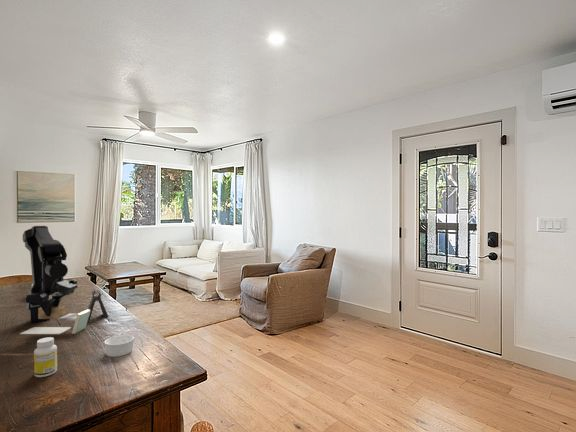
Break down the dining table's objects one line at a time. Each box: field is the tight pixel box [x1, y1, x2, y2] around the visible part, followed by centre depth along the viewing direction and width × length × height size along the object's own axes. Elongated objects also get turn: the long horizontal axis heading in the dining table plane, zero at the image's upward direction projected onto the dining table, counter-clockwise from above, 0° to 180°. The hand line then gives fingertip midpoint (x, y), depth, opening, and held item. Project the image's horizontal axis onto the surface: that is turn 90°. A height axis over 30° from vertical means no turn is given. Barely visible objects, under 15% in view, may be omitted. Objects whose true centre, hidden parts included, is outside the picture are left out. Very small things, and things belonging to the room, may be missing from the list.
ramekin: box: [104, 334, 135, 358], centre depth 109 cm, size 9×9×4 cm
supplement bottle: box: [33, 336, 58, 378], centre depth 95 cm, size 5×5×10 cm
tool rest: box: [19, 326, 73, 335], centre depth 126 cm, size 15×7×1 cm, turn 91°
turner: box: [38, 306, 79, 321], centre depth 126 cm, size 15×6×4 cm, turn 91°
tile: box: [71, 308, 91, 335], centre depth 127 cm, size 2×6×8 cm, turn 1°
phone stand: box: [87, 289, 109, 321], centre depth 143 cm, size 9×6×12 cm, turn 123°
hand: (51, 315), depth 126 cm, fingers closed on turner, 2 cm apart
